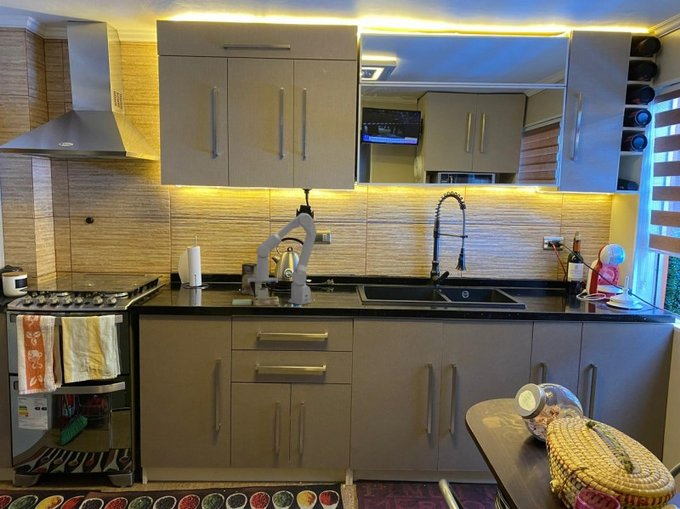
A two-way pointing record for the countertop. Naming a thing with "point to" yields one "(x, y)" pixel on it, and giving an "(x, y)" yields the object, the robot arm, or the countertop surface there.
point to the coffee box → (249, 272)
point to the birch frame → (267, 301)
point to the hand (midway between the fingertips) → (262, 297)
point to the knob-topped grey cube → (262, 293)
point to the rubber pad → (242, 302)
